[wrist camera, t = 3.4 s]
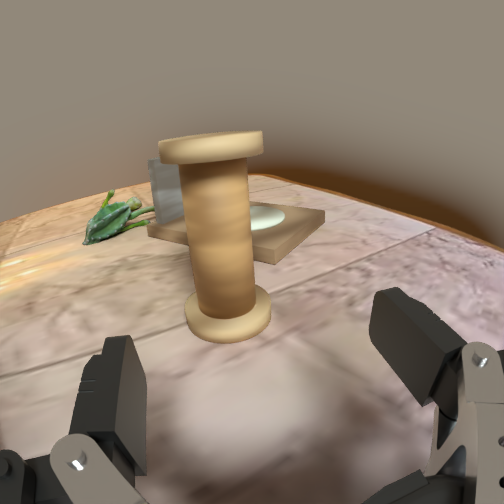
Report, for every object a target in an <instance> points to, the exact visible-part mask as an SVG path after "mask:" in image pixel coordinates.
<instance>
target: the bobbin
mask: <svg viewBox="0 0 504 504" xmlns="http://www.w3.org/2000/svg"><path fill="white" fill-rule="evenodd" d="M158 145H159V154H160V163H162V164H170V165H175V164H178V169H179V177H180V185H181V193H182V201H183V209H184V216H185V223H186V230H187V237H188V244H189V251H190V257H191V263H192V270H193V276H194V282H195V288H196V292H194V293H193V294H192V295H191V296H190V297H189V298H188V299H187V301H186V303H185V313H186V318H187V323H188V326H189V329H190V330H191V332H192V333H193V334H194V335H196V336H197V337H199V338H201V339H203V340H206V341H209V342H213V343H236V342H240V341H244V340H247V339H250V338H252V337H254V336H256V335H258V334H259V333H261V332H262V331H263V330H264V329H265V328H266V327H267V326H268V324H269V322H270V320H271V300H270V296H269V294H268V293H267V292H266V291H265V290H264V289H263V288H261V287H260V286H258V285H255V278H254V263H253V248H252V233H251V218H250V204H249V189H248V174H247V160H246V157H250V156H255V155H259V154H261V153H263V136H262V131H230V132H217V133H207V134H199V135H191V136H184V137H178V138H172V139H167V140H163V141H159V142H158Z"/></svg>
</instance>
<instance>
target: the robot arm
mask: <svg viewBox="0 0 504 504" xmlns="http://www.w3.org/2000/svg"><path fill="white" fill-rule="evenodd" d="M369 336H370V339H371V342H372V344H373V345H374V346H375V347H376V349H377V350H378V351H379V353H380V354H381V355H382V356H383V358H384V359H385V360H386V361H387V363H388V364H389V365H390V366H391V368H392V369H393V370H394V371H395V373H396V374H397V375H398V377H399V378H400V379H401V380H402V382H403V383H404V384H405V386H406V387H407V388H408V389H409V391H410V392H411V393H412V395H413V396H414V397H415V399H416V400H417V401H418V403H419V404H420V405H421V406H422V407H423V406H425V405H427V404H429V403H431V402H433V401H434V402H435V403H436V404H437V405H436V407H435V410H434V421H433V435H432V446H431V455H430V459H429V462H428V464H427V466H426V469H425V471H424V474H422V472H421V470H420V469H419V470H417V471H416V472H414V473H412V474H410V475H408V476H406V477H404V478H402V479H400V480H398V481H396V482H394V483H392V484H389V485H387V486H385V487H384V488H382V489H381V490H380V491H378V492H377V493H376V494H374V495H373V496H372V497H370V498H369V499H368V500H366V501H365V502H363V503H362V504H504V350H500V351H496V350H495V349H494V348H492V347H491V346H489V345H488V344H485V343H482V342H471V343H467V342H466V341H465V340H464V339H462V338H461V337H460V336H459V335H458V334H457V333H456V332H455V331H454V330H453V329H452V328H451V327H449V326H448V325H447V324H446V323H445V322H444V321H443V320H440V318H439V317H438V316H437V315H436V314H435V313H434V314H433V311H432V310H430V309H429V308H428V307H427V306H426V305H425V304H424V303H422V302H419V301H417V300H415V299H413V298H411V297H409V296H408V295H407V294H405V293H404V292H403V291H402V290H401V289H400V288H398V287H393V288H389V289H385V290H381V291H378V292H376V294H375V296H374V300H373V307H372V313H371V319H370V324H369ZM78 391H79V393H78V394H77V398H76V402H75V407H74V411H73V416H72V420H71V425H70V430H69V434H68V435H67V436H65V437H63V438H61V439H60V440H59V441H58V442H57V443H56V444H55V445H54V446H53V448H52V450H51V453H50V454H49V455H45V456H41V457H37V458H32V459H28V460H23V459H22V458H21V457H20V456H19V455H18V454H17V453H16V452H14V451H12V450H1V451H0V504H149V503H148V502H147V501H146V500H145V499H144V498H143V497H142V496H141V495H140V493H139V492H138V491H137V490H136V489H135V476H147V474H146V400H147V384H146V377H145V373H144V370H143V367H142V365H141V362H140V360H139V357H138V354H137V351H136V349H135V346H134V343H133V340H132V338H131V336H130V335H124V336H115V337H107V338H106V339H105V342H104V346H103V350H102V354H100V355H93V356H92V357H91V359H90V360H89V361H88V363H87V364H86V365H85V367H84V370H83V374H82V377H81V382H80V385H79V389H78Z"/></svg>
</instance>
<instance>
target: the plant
mask: <svg viewBox="0 0 504 504" xmlns="http://www.w3.org/2000/svg"><path fill="white" fill-rule="evenodd" d="M114 191H115V190H114V189H112V190H110V191H109V192H108V196H107V198H106V200H105V201H104V202H103V204H102V206H101V208H100V210H99V211H98V212H97V215H95V216H94V217H93V218H92V219H90V220H89V221H88V223H87V228H86V237H85V241H84V242H83V243H82V244H86V245H91V244H94V243H98V242H99V241H101V240H104V239H106V238H108V237H110V236H113V235H115V234H117V233H119V232H124V231H126V230H128V229H131V228H133V227H138V226H144V225H147V224H149V223H150V221H148V220H142V221H140V222H138V223H134V224H131V225H128V226H126V227H124V226H125V224H126V222H127V221H129V220H132V219H134V218H136V217H137V216H139V215H141V214H144V213H147V212H151V211H155V209H154V206H151V207H145V208H142V209H140V210H138V211H135V212H132V213H131V211H133V210H136V209H138V208H139V207H140V206H141V204H142V203H141V201H140V200H139V199H137V197H132V198H130V199H129V200H128V201H127V202H126V203H125V202H115V203H114V204H108V201H109V200H110V198H111V197H112V196H113V195H114Z"/></svg>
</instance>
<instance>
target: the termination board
mask: <svg viewBox="0 0 504 504" xmlns="http://www.w3.org/2000/svg"><path fill="white" fill-rule="evenodd" d="M148 167H149V175H150V182H151V189H152V196H153V203H154V209H155V215H156V221H154V222H152V223H150V224H147V231H148V236H150V237H154V238H159V239H163V240H168V241H172V242H176V243H181V244H185V245H189V244H188V237H187V230H186V223H185V216H184V209H183V201H182V193H181V185H180V177H179V169H178V164H175V165H170V164H162V163H160V157H158V158H153V159H150V160H148ZM249 204H250V218H251V233H252V248H253V260H256V261H261V262H265V263H270V264H274V265H275V264H276V263H277V262H279V261H280V260H281V259H282V258H283V257H285V256H286V255H287V254H288V253H289V252H290V251H292V250H293V249H294V248H295V247H296V246H297V245H299V244H300V243H301V242H302V241H303V240H304V239H306V238H307V237H308V236H309V235H310V234H311V233H313V232H314V231H315V230H316V229H317V228H318V227H320V226H321V225H322V224H323V223H324V222H325V211H324V210H317V209H309V208H301V207H294V206H285V205H277V204H269V203H260V202H251V201H249Z"/></svg>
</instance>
